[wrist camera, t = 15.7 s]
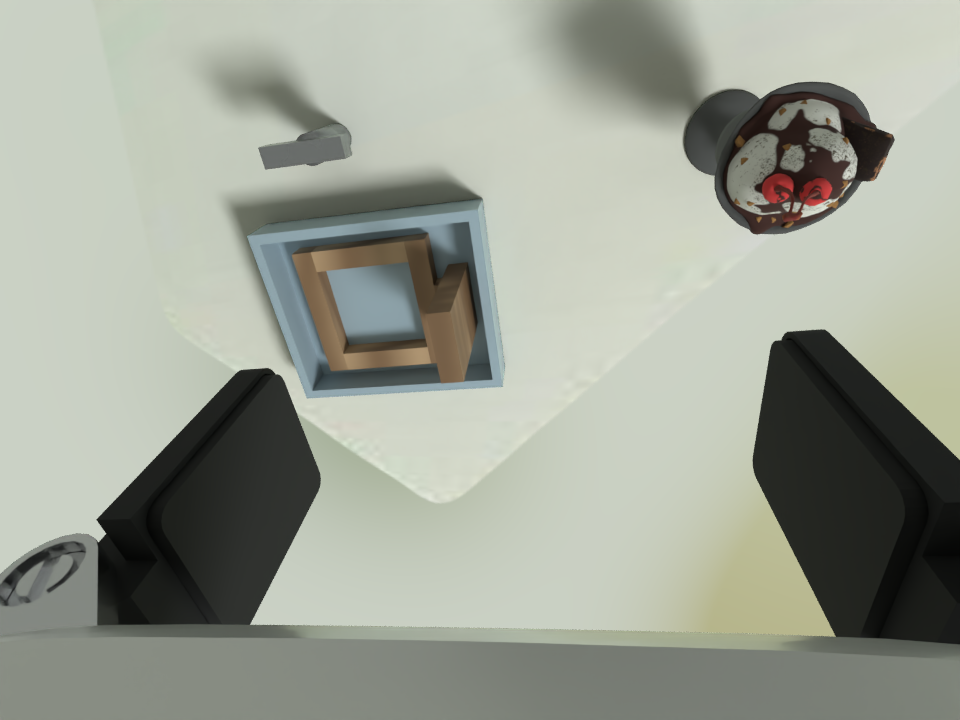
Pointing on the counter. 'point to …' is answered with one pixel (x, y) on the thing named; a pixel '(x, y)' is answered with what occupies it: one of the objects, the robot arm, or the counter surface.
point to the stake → (309, 148)
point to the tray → (381, 296)
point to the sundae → (786, 153)
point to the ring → (438, 298)
